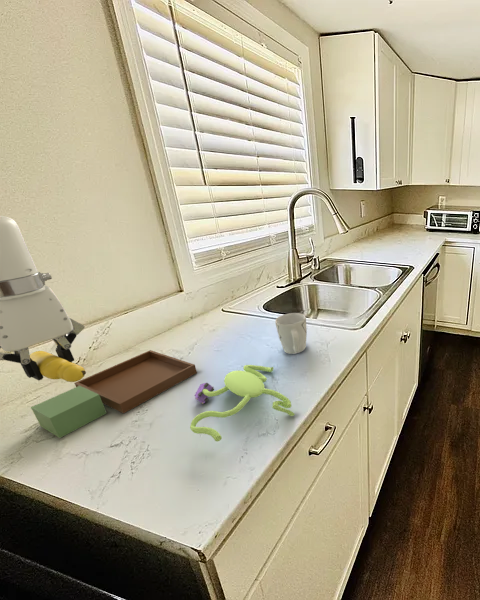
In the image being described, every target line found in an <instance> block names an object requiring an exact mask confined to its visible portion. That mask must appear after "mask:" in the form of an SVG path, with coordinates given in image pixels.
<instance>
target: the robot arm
mask: <svg viewBox="0 0 480 600" xmlns="http://www.w3.org/2000/svg"><path fill="white" fill-rule="evenodd" d="M21 231H22V230H21V229H20V227H19V225H18V223H17V221H16V220H14V219H13V218H12V217H10V216H6V215H0V349H2V350H3V351H4V352H1V351H0V361H7V362H12V363H16V364H20V366H21V368H22V369H23V372H24V373H25V375H26V376H27V378H29V379H31V378H33V379H35V380H37V381H42V380H43V379H44V376H43V375H42V374H41V372H40V369H39V367H38V365H37V363H36V362H35V361H33V360H32V359H31V358H30V354H31V353H30V348H29V347H33V346H36V345H40V344H42V343H45V342H48V341H51V340H52V342H54V343H55V345H56V347H55V353H56V356H58V357H60V358H63V359H65V360H67V361H69V362H72V363H73V362H74V361H75V358H74V355H73V353H72V351H71V348H72V344H73V342H74V341H75V339H76V338H77V335H79V334H80V333H81V332H83V330H84V329H85V325H84V324H82V323H80V322H78V321H77V320H74V319H72V318H71V317H70V316H69V314H68V312H67V310H66V309H65V307H64V306H63V304H62V302H61V300H60V299H59V297H58V296H57V295H56V293H55V292H54V290H53V289H52V288H51V287H50V286H48V285H46V282H47V281H50V280H52V279H53V278H52V274H51V273H50V272H40V271H39V270H38V268H37V266H36V264H35V261H34V259H33V256H32V254H31V252H30V249H29V247H28V245H27V243H26V240H25V238H24V236H23V233H22V232H21ZM11 352H13V353H11Z"/></svg>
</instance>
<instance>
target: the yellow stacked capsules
mask: <svg viewBox="0 0 480 600" xmlns="http://www.w3.org/2000/svg"><path fill="white" fill-rule="evenodd" d="M29 354H30V358H31V359H32V360H33V361H35V362H36V363H37V365H38V367H39V369H40V372H41V374H42V375H43V377H45V378H47V379H50V380H63V381H65V382H68V383H76V382H78V381H80V380H83V379H84V377H85V375H86V374H87V371H86V369H85V368H84V366H83V367H82V365H79V364H76V363H74V362H73V361H72V362H69V361H67V360H65V359H63V358H60V357H58V355H55V354H52V353H50V352H47V351H45V350H37V351H34V352H32V353H29Z"/></svg>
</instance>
